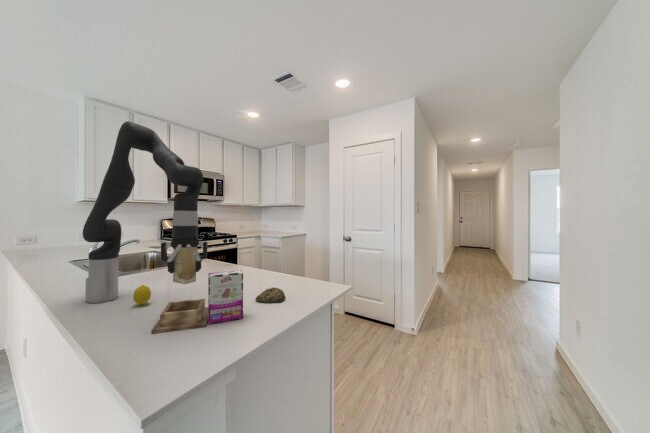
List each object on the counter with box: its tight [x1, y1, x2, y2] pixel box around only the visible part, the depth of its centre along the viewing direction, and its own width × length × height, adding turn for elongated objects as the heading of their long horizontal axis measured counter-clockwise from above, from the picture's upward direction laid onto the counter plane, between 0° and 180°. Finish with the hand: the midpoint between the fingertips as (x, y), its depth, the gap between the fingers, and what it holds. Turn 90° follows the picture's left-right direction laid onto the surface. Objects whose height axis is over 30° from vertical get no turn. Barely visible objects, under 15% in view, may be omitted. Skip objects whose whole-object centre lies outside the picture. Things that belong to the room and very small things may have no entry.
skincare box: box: [172, 246, 198, 285], centre depth 83 cm, size 6×4×12 cm
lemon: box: [132, 284, 152, 306], centre depth 96 cm, size 6×6×8 cm
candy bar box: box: [207, 269, 244, 325], centre depth 85 cm, size 11×5×16 cm, turn 117°
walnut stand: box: [150, 298, 208, 335], centre depth 83 cm, size 15×15×5 cm
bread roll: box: [254, 287, 286, 304], centre depth 107 cm, size 13×12×5 cm
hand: (184, 272), depth 83 cm, fingers closed on skincare box, 7 cm apart
